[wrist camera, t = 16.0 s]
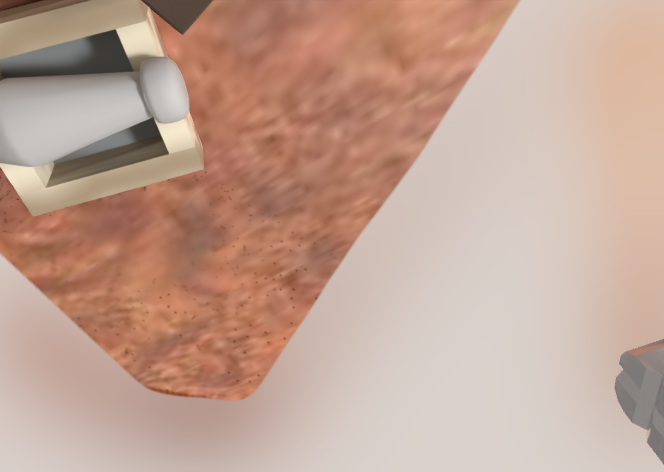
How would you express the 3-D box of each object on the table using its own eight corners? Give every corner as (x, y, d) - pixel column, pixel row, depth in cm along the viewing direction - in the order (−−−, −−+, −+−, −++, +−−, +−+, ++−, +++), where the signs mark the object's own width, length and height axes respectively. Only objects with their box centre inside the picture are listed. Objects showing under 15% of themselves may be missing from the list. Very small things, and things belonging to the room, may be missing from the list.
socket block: (-59, 26, 37) (-81, 44, 34) (137, -24, 38) (133, -11, 35) (43, 189, 45) (33, 216, 42) (202, 145, 46) (203, 169, 43)
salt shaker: (-19, 178, 34) (188, 128, 34) (-54, 84, 33) (161, 34, 33) (24, 171, 40) (201, 128, 40) (-4, 91, 38) (179, 48, 39)
